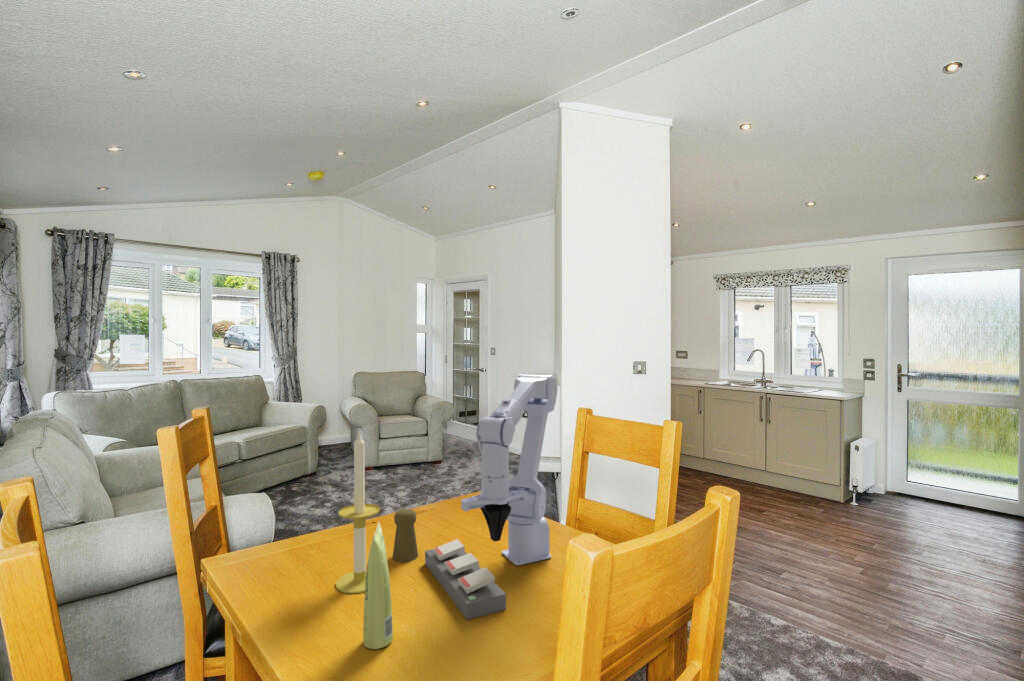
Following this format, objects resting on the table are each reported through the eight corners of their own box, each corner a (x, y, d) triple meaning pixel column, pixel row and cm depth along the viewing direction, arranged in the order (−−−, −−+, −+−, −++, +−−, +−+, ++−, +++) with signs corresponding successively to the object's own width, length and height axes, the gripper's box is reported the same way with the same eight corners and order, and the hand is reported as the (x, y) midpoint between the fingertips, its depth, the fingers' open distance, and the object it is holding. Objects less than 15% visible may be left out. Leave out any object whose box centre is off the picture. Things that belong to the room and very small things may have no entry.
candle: (393, 577, 110) (393, 428, 110) (360, 598, 101) (359, 436, 101) (359, 567, 115) (359, 424, 115) (324, 586, 106) (323, 432, 106)
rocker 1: (458, 543, 117) (457, 538, 117) (465, 550, 113) (464, 545, 113) (433, 553, 115) (432, 548, 115) (439, 560, 111) (439, 555, 111)
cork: (412, 563, 117) (412, 515, 117) (388, 560, 118) (387, 513, 118) (422, 552, 123) (421, 507, 123) (398, 550, 124) (398, 505, 124)
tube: (355, 641, 87) (354, 528, 87) (380, 628, 91) (379, 520, 91) (374, 654, 83) (373, 536, 83) (399, 640, 87) (399, 527, 87)
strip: (457, 556, 120) (457, 541, 120) (505, 609, 97) (505, 590, 97) (425, 563, 117) (425, 547, 117) (467, 620, 93) (467, 600, 93)
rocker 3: (486, 571, 103) (485, 566, 103) (495, 580, 99) (494, 575, 99) (458, 583, 100) (457, 578, 100) (467, 593, 96) (466, 588, 96)
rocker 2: (471, 557, 110) (470, 552, 110) (479, 565, 106) (478, 560, 106) (445, 566, 108) (444, 561, 107) (452, 575, 104) (451, 570, 104)
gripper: (470, 484, 99) (470, 553, 99) (534, 474, 106) (534, 539, 106) (457, 475, 105) (457, 540, 105) (519, 467, 112) (519, 528, 112)
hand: (495, 539), depth 106 cm, fingers closed
